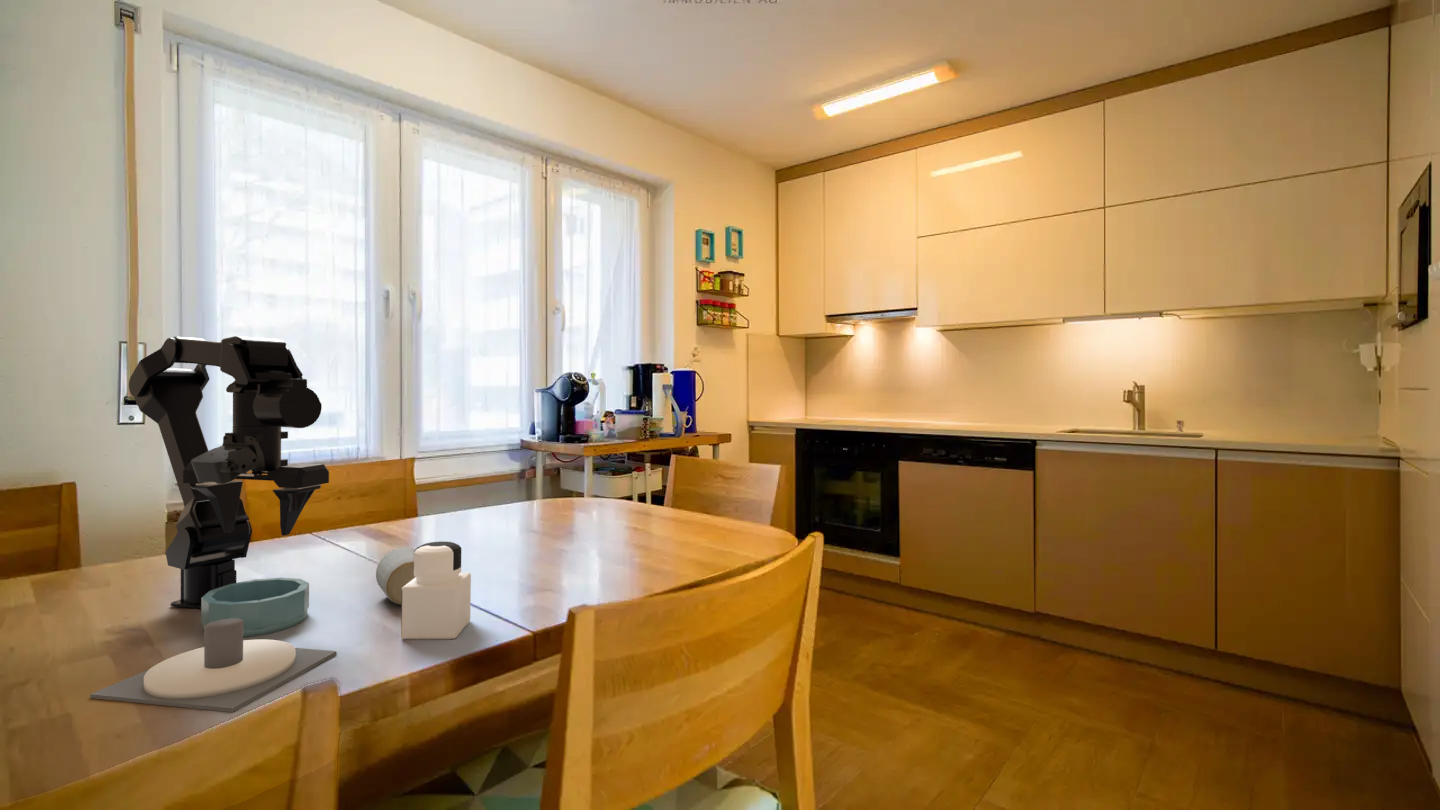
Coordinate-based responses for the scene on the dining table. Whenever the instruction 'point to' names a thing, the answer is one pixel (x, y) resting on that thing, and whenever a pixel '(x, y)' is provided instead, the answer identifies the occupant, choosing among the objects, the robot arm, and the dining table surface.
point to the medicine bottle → (436, 594)
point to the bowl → (258, 604)
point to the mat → (227, 702)
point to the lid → (219, 664)
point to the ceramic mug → (395, 572)
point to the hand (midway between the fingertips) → (256, 533)
